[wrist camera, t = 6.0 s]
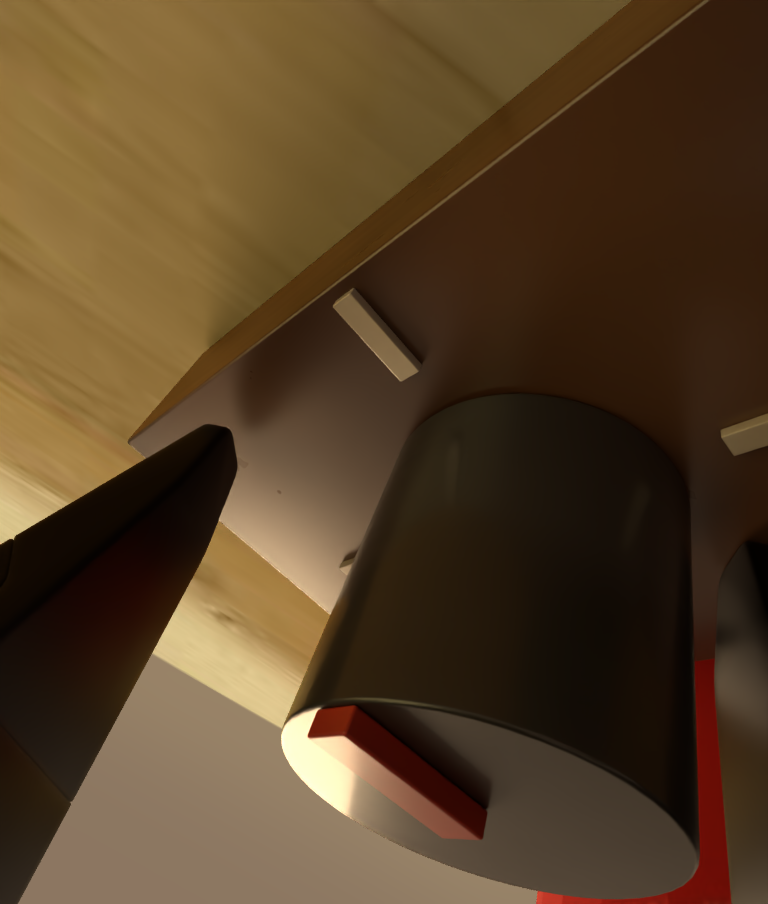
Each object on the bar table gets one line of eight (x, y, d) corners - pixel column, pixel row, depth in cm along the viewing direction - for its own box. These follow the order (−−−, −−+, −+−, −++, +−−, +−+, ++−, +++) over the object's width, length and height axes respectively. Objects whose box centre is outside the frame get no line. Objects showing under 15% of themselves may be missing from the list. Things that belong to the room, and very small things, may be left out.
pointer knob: (745, 562, 10) (785, 957, 6) (497, 614, 12) (433, 907, 9) (585, 338, 8) (524, 715, 5) (340, 457, 11) (193, 745, 7)
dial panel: (818, -153, 7) (887, -139, 5) (1060, 438, 10) (1167, 611, 8) (203, 352, 14) (120, 448, 12) (455, 595, 18) (425, 704, 15)
